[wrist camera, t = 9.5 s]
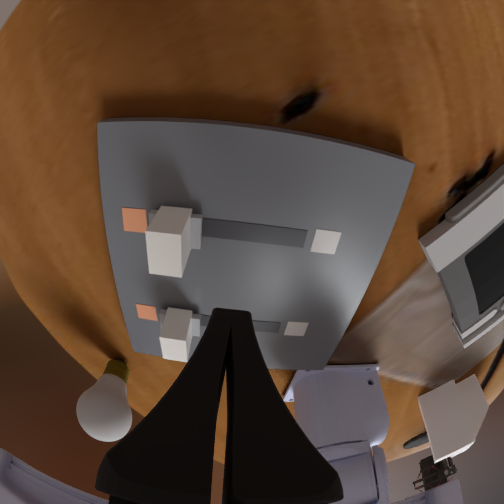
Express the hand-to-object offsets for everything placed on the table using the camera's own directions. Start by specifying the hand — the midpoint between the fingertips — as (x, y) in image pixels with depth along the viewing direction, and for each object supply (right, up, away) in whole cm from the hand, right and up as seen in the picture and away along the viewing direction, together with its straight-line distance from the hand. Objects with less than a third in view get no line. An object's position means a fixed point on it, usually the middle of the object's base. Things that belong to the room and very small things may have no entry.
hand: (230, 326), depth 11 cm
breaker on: (-5, -2, +10) cm, 11 cm away
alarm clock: (+25, +4, +8) cm, 26 cm away
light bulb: (-14, -9, +17) cm, 24 cm away
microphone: (+48, -47, +42) cm, 79 cm away
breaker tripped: (-4, +4, +5) cm, 8 cm away
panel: (0, +2, +9) cm, 9 cm away
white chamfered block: (+35, -21, +25) cm, 48 cm away
